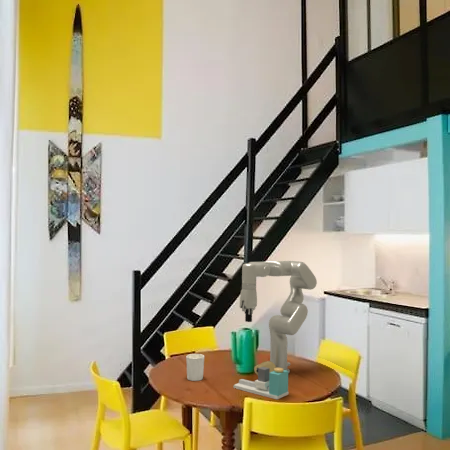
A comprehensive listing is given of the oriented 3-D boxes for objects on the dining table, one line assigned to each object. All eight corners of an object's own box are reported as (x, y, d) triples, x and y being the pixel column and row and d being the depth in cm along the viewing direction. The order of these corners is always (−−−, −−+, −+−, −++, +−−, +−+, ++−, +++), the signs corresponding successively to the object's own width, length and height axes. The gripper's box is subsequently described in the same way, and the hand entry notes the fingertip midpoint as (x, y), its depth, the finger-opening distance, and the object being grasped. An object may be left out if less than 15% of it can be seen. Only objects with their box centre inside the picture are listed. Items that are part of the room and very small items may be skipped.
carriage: (262, 384, 251) (262, 365, 252) (272, 387, 248) (272, 367, 248) (254, 388, 246) (254, 368, 246) (264, 390, 242) (265, 370, 242)
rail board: (245, 383, 260) (245, 361, 260) (288, 394, 244) (288, 370, 244) (233, 388, 252) (233, 365, 252) (277, 399, 236) (277, 375, 236)
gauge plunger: (277, 380, 245) (277, 367, 245) (285, 382, 242) (285, 368, 242) (272, 382, 241) (272, 368, 241) (280, 384, 238) (280, 370, 238)
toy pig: (253, 378, 269) (253, 358, 269) (275, 378, 269) (275, 358, 269) (255, 384, 259) (255, 363, 259) (278, 384, 259) (278, 363, 260)
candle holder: (192, 374, 274) (193, 352, 274) (207, 377, 269) (208, 355, 269) (182, 379, 265) (182, 356, 265) (197, 382, 260) (197, 359, 260)
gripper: (251, 285, 274) (250, 318, 274) (234, 287, 262) (234, 322, 262) (262, 286, 269) (262, 320, 269) (246, 288, 257) (246, 324, 257)
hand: (248, 321), depth 265 cm, fingers closed
